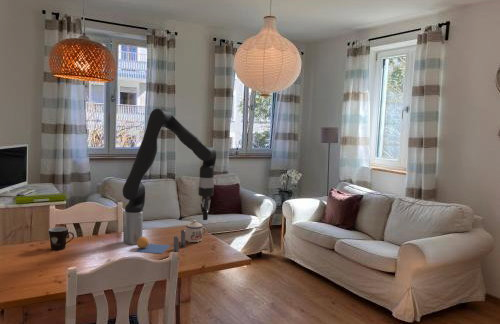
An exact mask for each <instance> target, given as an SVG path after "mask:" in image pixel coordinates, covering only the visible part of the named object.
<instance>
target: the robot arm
mask: <svg viewBox="0 0 500 324" xmlns="http://www.w3.org/2000/svg"><path fill="white" fill-rule="evenodd" d="M162 128H166V129H168V130H169V131H171V132H173V133H174V135H175V136H176V137H177V138H178V140H179V141H180V142H181V143H182V144H183V145H184V146H186V147H187V148H188V149H189V150H191V152H192V153H193V154H194V155H195V156H196V157H197V158H198V159H199V160H201V161H202V165H201V166H200V168H199V178H198V179H199V180H198V196H199V197H202V198H201V200H200V201H201V202H200V210H201V213H202V220H203V221H207V220H208V217H209V216H208V215H209V211H210V206H211V197H212V196H214V190H215V188H214V187H215V181H214V180H215V179H214V172H215V171H214V170H215V165H216V162H217V161H216V160H217V151H216V149H215V148H214V147H213V146H206V145H204V144H203V142H202V140H201V138H199V137H198V136H196V135H195V134H194V133H193V132H192V131H190V130H189V129H187V128H186V127H185V126H184V125H183V124H182V123H181V122H180V121H178V119H177V118H176V117H175V116H174V115H173V113H171V112H170V111H169V110H168V109H165V108H154V109H153V110H152V111H151V112H150V114H149V117H148V120H147V124H146V128H145V131H144V135H143V137H142V141H141V143H140V146H139V148H138V151H137V153H136V157H135V159H134V162H133V164H132V167H131V170H130V172H129V174H128V176H127V178H126V181H125V182H124V185H123V187H122V196H123V197H124V198H125V200H129V201H128V202H127V204H126V205H125V208H124V225H123V227H122V229H123V230H122V231H123V233H122V243H123V244H126V245H137V240H138V239H139V238H140V237H143V229H144V228H143V226H144V225H143V221H144V219H143V217H144V216H143V215H144V212H143V211H144V207H145V201H146V188H145V185H144V183H143V182H142V180H143V177H144V175H146V173H147V172H148V170H149V169H151V166H153V164H154V161H155V158H156V156H157V153H158V138H159V133H160V132H161V129H162Z"/></svg>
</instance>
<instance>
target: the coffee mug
mask: <svg viewBox="0 0 500 324" xmlns="http://www.w3.org/2000/svg"><path fill="white" fill-rule="evenodd" d="M68 234H69V235H70V234H71V235H72V238H70V240H68V241H67V237H68ZM48 236H49V237H48V238H49V243H50V250H51V251H54V252H57V251H64V250H65V249H66V244H68V243H70V242H71V241H73V239H74V238H75V235H74V233H73V232H71V231H69V232H68V227H63V226H60V227H59V226H57V227H51V228H49V229H48Z"/></svg>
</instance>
